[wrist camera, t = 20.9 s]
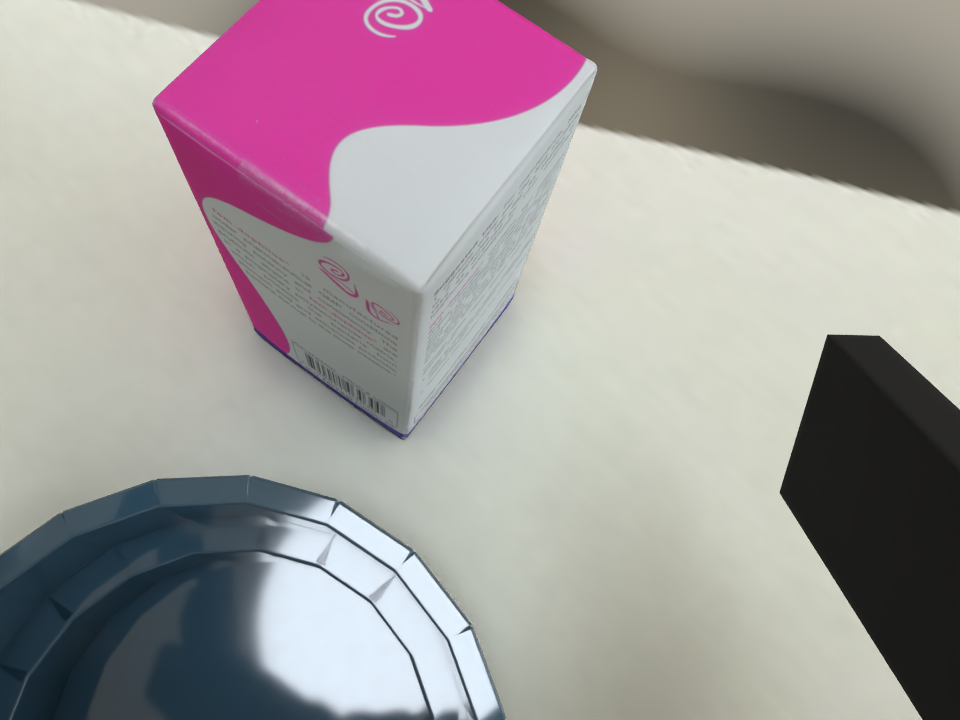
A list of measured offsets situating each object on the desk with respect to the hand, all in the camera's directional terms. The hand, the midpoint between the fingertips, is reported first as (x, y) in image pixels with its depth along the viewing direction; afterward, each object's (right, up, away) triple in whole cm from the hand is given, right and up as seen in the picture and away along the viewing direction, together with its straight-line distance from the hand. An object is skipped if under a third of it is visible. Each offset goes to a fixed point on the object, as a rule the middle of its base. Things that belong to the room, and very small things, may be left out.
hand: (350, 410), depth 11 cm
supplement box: (-1, +2, +14) cm, 14 cm away
